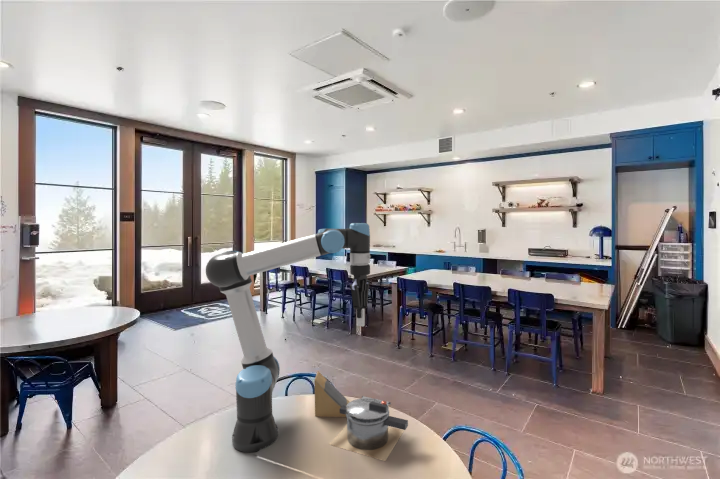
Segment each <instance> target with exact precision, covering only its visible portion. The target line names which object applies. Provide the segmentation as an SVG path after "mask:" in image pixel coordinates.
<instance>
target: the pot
mask: <svg viewBox="0 0 720 479" xmlns="http://www.w3.org/2000/svg"><path fill="white" fill-rule="evenodd" d="M340 413H341V414H345V415H346V425H347V440H348V442H349V443H350V445H352V446H353V447H355V448H358V449H361V450H374V449H378V448H381V447H382V446H384V445H385V444H386V443H387V441H388V427H392V428H396V429H400V430H404V431H406V430H407V428H408V426H409V420H408V419H405V418H404V419H403V418H400V417H395V416H391V415H390V411H389V412H388V414H387V415H386V416H385V417H382V418H379V419H374V420H364V419H358V418H355V417H353V416H351V415H349V414H348V413H347V411H346V406H344V405H343V406H342V407H341V408H340Z"/></svg>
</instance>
